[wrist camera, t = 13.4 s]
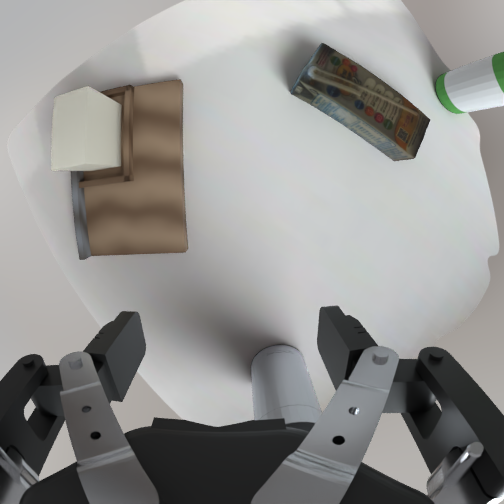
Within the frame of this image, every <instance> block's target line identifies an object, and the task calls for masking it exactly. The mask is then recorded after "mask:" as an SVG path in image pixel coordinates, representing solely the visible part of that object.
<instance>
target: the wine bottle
mask: <svg viewBox="0 0 504 504" xmlns="http://www.w3.org/2000/svg"><path fill="white" fill-rule="evenodd" d="M436 92H437V95H438V98H439V100H440V102H441V103H442V104H443V106H444V107H445V108H446V109H447V110H449V111H450V112H453V113H456V114H459V113H465V112H471V111H476V110H481V109H487V108H493V107H498V106H504V52H501V53H498V54H495V55H492V56H489V57H486V58H484V59H480V60H478V61H475V62H472V63H470V64H467V65H464V66H462V67H459V68H457V69H454V70H452V71H449V72H447V73H445V74H442V75H440V76H439V78H438V79H437V81H436Z"/></svg>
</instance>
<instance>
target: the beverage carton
mask: <svg viewBox="0 0 504 504" xmlns="http://www.w3.org/2000/svg"><path fill="white" fill-rule="evenodd" d="M291 94H292V95H294V96H296V97H298V98H299V99H301V100H303V101H305V102H307V103H309V104H310V105H312V106H314V107H315V108H317V109H319V110H320V111H322V112H323V113H325V114H327V115H328V116H330V117H332V118H333V119H335V120H336V121H338V122H340V123H341V124H343V125H344V126H346V127H347V128H348V129H350V130H351V131H353V132H354V133H356V134H357V135H359V136H360V137H362V138H363V139H364V140H366V141H367V142H369V143H370V144H371V145H373V146H374V147H376V148H377V149H379V150H380V151H381V152H383V153H384V154H385V155H387V156H388V157H389V158H391V159H392V160H393V161H399V160H408V159H414V158H415V157H416V154H417V152H418V149H419V147H420V145H421V142H422V140H423V138H424V135H425V132H426V129H427V127H428V124H429V122H430V119H429V118H428V117H427V116H425V115H424V114H423V113H422V112H421V111H420V110H419V109H418V108H417V107H415V106H414V105H413V104H412V103H411V102H409V101H408V100H407V99H406V98H404V97H403V96H402V95H401V94H399V93H398V92H397V91H395V90H394V89H393V88H391V87H390V86H389V85H387V84H386V83H385V82H383V81H382V80H381V79H379V78H378V77H376V76H375V75H374V74H372V73H371V72H369V71H368V70H366V69H365V68H363V67H362V66H360V65H359V64H357V63H356V62H354V61H352V60H351V59H349V58H347V57H346V56H344V55H342V54H340V53H339V52H337V51H336V50H334V49H332V48H331V47H329V46H328V45H326V44H324V43H321V45H320V46H319V47H318V49H317V50H316V52H315V53H314V55H313V56H312V57H311V59H310V61H309V62H308V64H307V65H306V66H305V67H304V69H303V70H302V72H301V74H300V76H299V77H298V79H297V81H296V83H295V85H294V86H293V88H292V91H291Z"/></svg>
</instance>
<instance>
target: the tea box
mask: <svg viewBox="0 0 504 504" xmlns="http://www.w3.org/2000/svg"><path fill="white" fill-rule="evenodd" d="M121 110H122V105H121V104H119V103H117V102H116V101H114V100H112V99H111V98H109V97H107V96H105V95H104V94H102V93H100V92H98V91H97V90H95V89H93V88H91V87H89V86H86V87H83V88H80V89H77V90H74V91H71V92H68V93H65V94H62V95H59V96H56V97H54V106H53V118H52V138H51V171H94V170H100V169H106V168H113V167H120V166H121Z"/></svg>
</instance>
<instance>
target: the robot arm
mask: <svg viewBox="0 0 504 504" xmlns="http://www.w3.org/2000/svg"><path fill="white" fill-rule="evenodd" d="M317 345H318V350H319V353H320V355H321V357H322V360H323V362H324V364H325V367H326V369H327V371H328V373H329V376H330V378H331V380H332V383H333V385H334V387H335V390H336V392H335V394H334V396H333V397H332V399H331V401H330V402H329V404H328V405H327V407H326V408H325V410H324V412H323V413H322V411H321V408H320V405H319V402H318V399H317V396H316V393H315V390H314V387H313V384H312V381H311V378H310V375H309V372H308V369H307V366H306V363H305V360H304V358H303V356H302V354H301V353H300V352H299V351H298V350H297V349H295V348H293V347H291V346H286V345H276V346H271V347H268V348H266V349H264V350H262V351H261V352H259V353H258V354H257V355H256V356H255V357H254V359H253V361H252V364H251V376H252V393H253V408H254V420H251V421H247V422H242V423H237V424H232V425H227V426H222V427H213V426H208V425H204V424H199V423H195V422H191V421H187V420H178V419H164V418H154V420H153V423H152V426H148V427H143V428H138V429H135V430H132V431H129V432H127V433H125V434H124V433H123V431H122V429H121V427H120V425H119V423H118V421H117V419H116V417H115V415H114V413H113V410H112V408H111V406H110V402H111V401H112V400H113V401H119V402H122V401H123V399H124V397H125V395H126V393H127V390H128V388H129V386H130V384H131V382H132V380H133V378H134V376H135V374H136V372H137V370H138V367H139V365H140V363H141V361H142V359H143V357H144V355H145V351H146V343H145V338H144V334H143V329H142V324H141V319H140V315H139V313H138V312H127V311H122V312H121V313H120V314H119V315H118V316H117V317H116V319H115V320H114V321H111V322H110V323H108V324H106V325H105V326H103V328H102V329H101V330H100V331H99V334H97V335H96V336H95V339H93V340H92V341H91V342H90V343H89V345H88V346H87V347H86V348H85V350H84V351H83V352H73V353H70V354H68V355H66V356H64V357H63V358H62V359H61V361H60V363H59V365H50V366H46V365H45V363H44V360H43V358H42V357H41V356H40V355H37V354H31V355H27V356H24V357H22V358H21V359H19V360H18V362H17V363H16V364H15V365H14V366H13V367H12V368H11V369H10V370H9V372H8V373H7V374H6V375H5V376H4V377H3V379H2V380H1V381H0V504H497V503H499V502H500V501H501V500H502V499H503V498H504V415H503V414H502V413H501V412H500V410H499V409H498V408H497V407H496V405H495V404H494V403H493V402H492V401H491V400H490V398H489V397H488V396H487V395H486V394H485V392H484V391H483V390H482V389H481V388H480V387H479V386H478V384H477V383H476V382H475V381H474V380H473V379H472V378H471V376H470V375H469V374H468V373H467V372H466V371H465V370H464V369H463V368H462V366H461V365H460V364H459V363H458V362H457V361H456V360H455V359H454V358H453V357H452V356H451V355H450V353H448V352H447V351H446V350H444V349H441V348H438V347H427V348H424V349H422V350H421V351H420V353H419V356H418V359H399V356H398V354H397V353H396V352H395V351H394V350H392V349H390V348H387V347H383V346H378V345H377V344H376V342H375V341H374V340H373V339H372V337H371V336H370V335H369V333H368V332H367V331H366V330H365V328H364V327H363V326H362V325H361V323H360V322H359V321H358V320H357V319H355V318H353V317H352V316H350V315H347V316H345V315H344V313H343V312H342V310H341V309H340V308H339V306H328V307H321V308H320V313H319V324H318V336H317ZM30 398H31V399H32V401H33V403H34V404H35V406H36V408H35V409H34V411H33V413H32V414H31V416H30V417H29V419H28V421H26V419H25V417H24V407H25V406H26V404H27V403H28V401H29V400H30ZM436 399H437V400H438V402H439V403H440V405H441V409H442V412H441V410H440V409H439V407H438V406H437V404H436V403H435V401H436ZM382 413H401V415H402V417H403V418H404V420H405V422H406V424H407V426H408V428H409V430H410V432H411V434H412V436H413V438H414V440H415V442H416V444H417V446H418V448H419V450H420V452H421V454H422V456H423V458H424V460H425V462H426V464H427V467H428V468H429V471H430V473H431V476H430V477H429V479H428V481H427V492H428V496H427V495H425V494H424V493H422V492H420V491H418V490H416V489H413V488H411V487H409V486H407V485H405V484H403V483H400V482H398V481H396V480H394V479H392V478H391V477H388V476H386V475H385V474H383V473H381V472H379V471H377V470H375V469H373V468H372V467H369V466H368V465H366V464H364V463H362V462H361V461H362V459H363V457H364V455H365V453H366V451H367V448H368V446H369V444H370V442H371V439H372V437H373V434H374V432H375V429H376V427H377V425H378V422H379V420H380V417H381V414H382ZM65 420H66V424H67V428H68V432H69V436H70V440H71V443H72V447H73V450H74V453H75V456H76V459H77V462H75V463H73V464H71V465H70V466H68V467H66V468H64V469H62V470H60V471H59V472H57V473H55V474H53V475H51V476H49V477H47V478H45V479H43V480H41V481H39V478H38V476H39V474H40V472H41V470H42V467H43V465H44V463H45V461H46V458H47V456H48V454H49V451H50V450H51V448H52V446H53V443H54V441H55V439H56V437H57V435H58V433H59V431H60V429H61V427H62V425H63V423H64V421H65Z"/></svg>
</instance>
